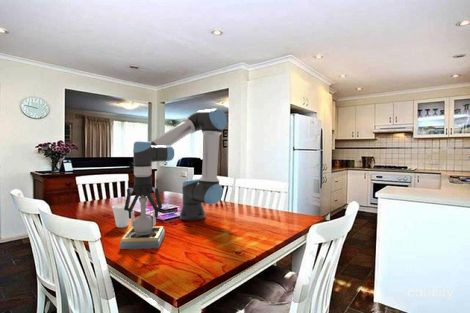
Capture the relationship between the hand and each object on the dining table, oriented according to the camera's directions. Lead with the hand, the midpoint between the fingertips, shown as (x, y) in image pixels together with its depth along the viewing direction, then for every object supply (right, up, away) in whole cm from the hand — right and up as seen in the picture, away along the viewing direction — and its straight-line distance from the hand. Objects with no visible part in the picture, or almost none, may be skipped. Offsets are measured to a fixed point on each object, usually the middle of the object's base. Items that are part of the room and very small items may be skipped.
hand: (143, 225), depth 118 cm
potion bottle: (0, -4, 0) cm, 4 cm away
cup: (-20, -7, +23) cm, 31 cm away
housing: (0, -8, 0) cm, 8 cm away
